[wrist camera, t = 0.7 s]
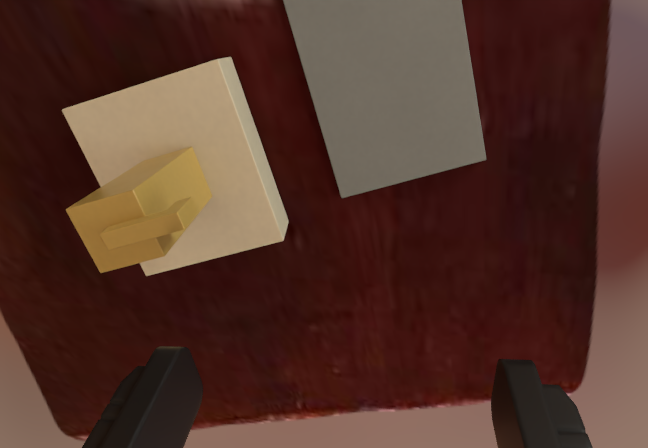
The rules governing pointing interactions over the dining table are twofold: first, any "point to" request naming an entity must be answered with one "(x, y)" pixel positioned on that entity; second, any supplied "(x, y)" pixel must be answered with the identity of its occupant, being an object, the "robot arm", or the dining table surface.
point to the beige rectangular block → (210, 149)
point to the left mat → (389, 87)
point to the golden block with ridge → (141, 210)
